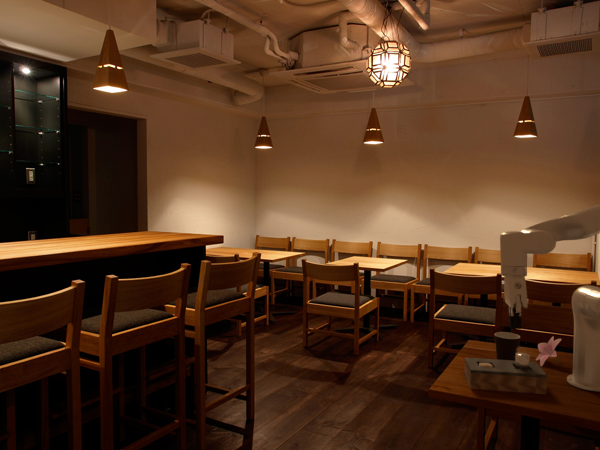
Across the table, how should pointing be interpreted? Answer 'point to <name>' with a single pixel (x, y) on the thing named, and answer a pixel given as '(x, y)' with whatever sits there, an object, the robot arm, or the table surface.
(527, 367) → the steel peg
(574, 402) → the table surface
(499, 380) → the block
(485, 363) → the maple peg
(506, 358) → the coffee mug
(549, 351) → the lily
